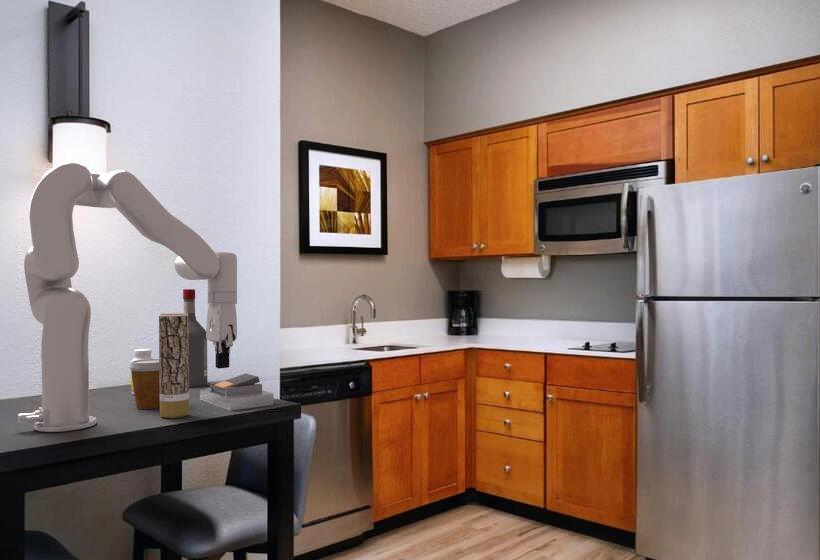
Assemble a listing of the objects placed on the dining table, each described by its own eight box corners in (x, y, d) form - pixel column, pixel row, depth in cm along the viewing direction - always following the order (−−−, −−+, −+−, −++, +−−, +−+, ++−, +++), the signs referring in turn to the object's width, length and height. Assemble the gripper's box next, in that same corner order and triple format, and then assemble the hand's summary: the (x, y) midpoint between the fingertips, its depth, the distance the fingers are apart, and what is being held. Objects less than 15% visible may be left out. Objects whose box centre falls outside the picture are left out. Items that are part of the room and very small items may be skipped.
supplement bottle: (147, 391, 199) (146, 348, 199) (160, 393, 195) (159, 349, 195) (126, 394, 193) (125, 350, 193) (139, 396, 189) (139, 351, 189)
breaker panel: (230, 410, 169) (230, 391, 168) (200, 399, 184) (199, 381, 184) (273, 404, 176) (273, 385, 176) (240, 394, 192) (240, 377, 192)
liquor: (181, 388, 202) (180, 289, 202) (170, 385, 209) (169, 289, 209) (210, 385, 208) (209, 289, 208) (198, 381, 215) (197, 288, 215)
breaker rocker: (225, 394, 174) (223, 388, 174) (213, 390, 180) (211, 384, 180) (259, 382, 180) (258, 376, 180) (246, 378, 186) (245, 372, 186)
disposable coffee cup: (154, 402, 181) (154, 357, 181) (176, 405, 176) (175, 360, 176) (121, 407, 173) (121, 361, 173) (143, 412, 168) (142, 364, 168)
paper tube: (179, 419, 159) (178, 314, 158) (154, 418, 160) (153, 314, 160) (194, 413, 165) (193, 312, 165) (169, 412, 167) (168, 312, 167)
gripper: (198, 298, 181) (198, 366, 181) (220, 299, 169) (220, 372, 169) (224, 297, 186) (224, 363, 186) (247, 299, 174) (247, 369, 174)
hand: (222, 367), depth 178 cm, fingers closed
